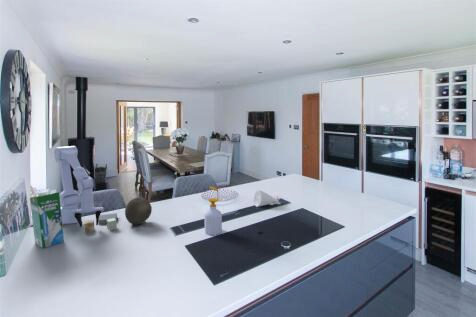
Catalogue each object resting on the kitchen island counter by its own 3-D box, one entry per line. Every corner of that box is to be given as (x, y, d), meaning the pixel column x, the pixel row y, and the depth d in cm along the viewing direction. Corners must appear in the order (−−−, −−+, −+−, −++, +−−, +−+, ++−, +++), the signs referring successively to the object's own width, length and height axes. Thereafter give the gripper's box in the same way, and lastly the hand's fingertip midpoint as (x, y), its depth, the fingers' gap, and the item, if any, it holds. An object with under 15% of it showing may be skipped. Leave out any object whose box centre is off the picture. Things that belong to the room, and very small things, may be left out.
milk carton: (55, 236, 138) (50, 189, 134) (64, 241, 133) (59, 191, 129) (34, 243, 131) (29, 193, 127) (42, 248, 126) (37, 196, 122)
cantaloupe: (127, 230, 146) (125, 203, 144) (124, 221, 158) (123, 196, 156) (154, 225, 152) (153, 200, 150) (149, 217, 165) (148, 193, 162)
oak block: (84, 232, 143) (84, 223, 143) (86, 229, 147) (85, 220, 146) (93, 231, 145) (92, 222, 144) (94, 228, 148) (93, 220, 148)
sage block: (109, 230, 146) (108, 221, 145) (107, 228, 149) (106, 219, 148) (116, 228, 148) (116, 220, 148) (114, 226, 151) (114, 218, 151)
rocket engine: (282, 189, 193) (259, 186, 187) (285, 203, 185) (262, 200, 179) (274, 198, 201) (252, 195, 195) (278, 212, 193) (255, 209, 187)
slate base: (98, 224, 154) (98, 220, 154) (100, 219, 162) (100, 215, 162) (116, 222, 157) (115, 218, 157) (117, 217, 165) (116, 213, 165)
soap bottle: (204, 228, 149) (204, 185, 145) (221, 228, 150) (221, 184, 146) (204, 235, 140) (203, 189, 136) (222, 235, 141) (221, 189, 137)
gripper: (69, 204, 137) (72, 230, 139) (101, 201, 142) (103, 226, 144) (72, 200, 144) (75, 225, 146) (103, 198, 149) (104, 221, 151)
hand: (89, 225), depth 145 cm, fingers open, 7 cm apart
